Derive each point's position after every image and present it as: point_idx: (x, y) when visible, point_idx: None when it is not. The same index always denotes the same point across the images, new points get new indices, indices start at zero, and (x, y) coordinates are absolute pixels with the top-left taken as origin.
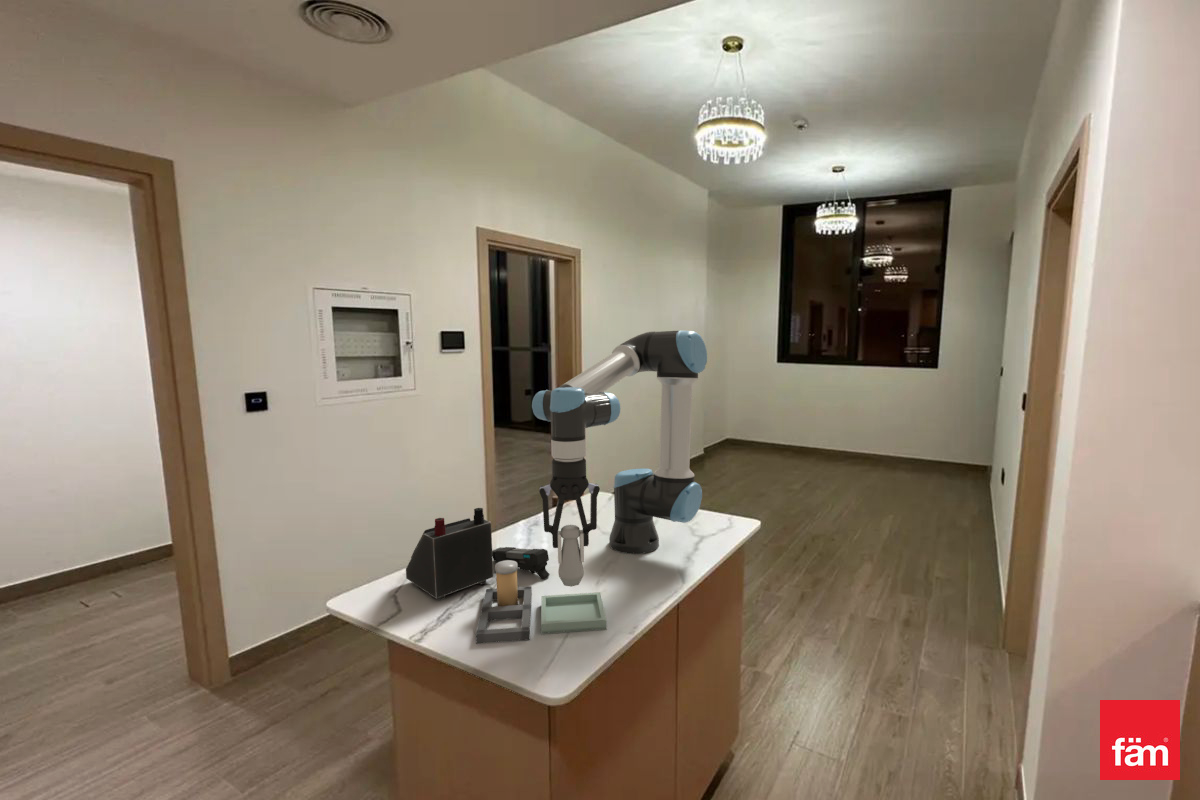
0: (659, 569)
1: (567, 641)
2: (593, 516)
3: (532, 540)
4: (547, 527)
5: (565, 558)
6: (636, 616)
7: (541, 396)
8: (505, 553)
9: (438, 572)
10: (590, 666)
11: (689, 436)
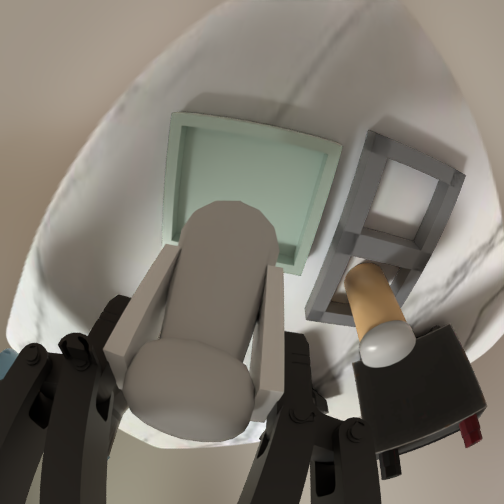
0: (69, 301)
1: (285, 88)
2: (3, 414)
3: (251, 422)
4: (354, 447)
5: (249, 269)
6: (109, 152)
7: None
8: (315, 405)
9: (461, 357)
10: None
11: None
